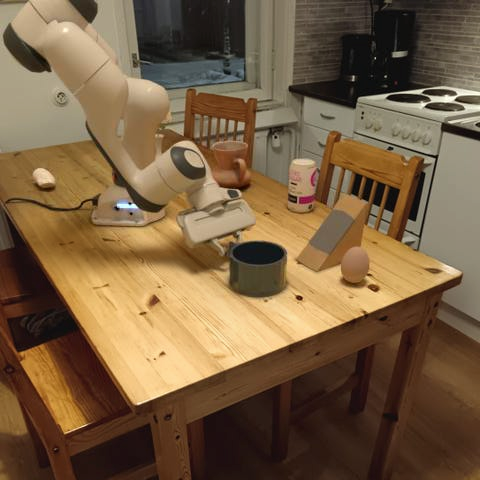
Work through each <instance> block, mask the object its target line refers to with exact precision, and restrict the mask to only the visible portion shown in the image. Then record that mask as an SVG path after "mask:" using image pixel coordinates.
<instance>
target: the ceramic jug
mask: <svg viewBox="0 0 480 480" xmlns="http://www.w3.org/2000/svg"><path fill="white" fill-rule="evenodd" d="M248 149H249V145H248V143H247V142H244V141H239V140H238V141H237V140H225V141H217V142H214V143H213V145H212V151H213V155H214V158H215V161H216V163H217V165H218V166H217V167H216V168H215V169H213V170H212V171H211V172H212V176H213V178H214V180H215V181H216V182H217V183H218V185H219V187H220V188H226V189H239V188H243V187H245V186H247V185H248V184H249V183H250V182H251V179H252V175H251V173H250V171H249V170H248V169H247V164H246V161H245V160H246V157H247V154H248Z"/></svg>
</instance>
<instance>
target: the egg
mask: <svg viewBox="0 0 480 480" xmlns="http://www.w3.org/2000/svg"><path fill="white" fill-rule="evenodd" d="M369 270H370V258H369V255H368V253H367V251H366V250H365V249H364V248H362V246H361V247H357V246H356V247H352V248H351V249H349V250H348V251H347V252H346V253H345V255H344V257H343V259H342V262H341V263H340V272H341V275H342V277H343V278H344V279H345V280H346V281H347V282H348V283H352V284H356V283H360V282H362V281H363V280H364V279H365V278H366V277H367V276H368V275H369V274H368V273H369Z"/></svg>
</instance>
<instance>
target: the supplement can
mask: <svg viewBox="0 0 480 480" xmlns="http://www.w3.org/2000/svg"><path fill="white" fill-rule="evenodd" d="M317 169H318V168H317V165H316V161H315V160H313V159H310V158H296V159H292V161H291V163H290V164H289V172H288V188H287V190H288V191H287V208H288V209H289V211H291V212H293V213H298V214H304V213H305V214H307V213H309V212H311V211H312V210H313V209H314V206H315V205H314V204H315V203H314V202H315V194H316V181H317V171H318V170H317Z"/></svg>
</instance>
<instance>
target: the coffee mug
mask: <svg viewBox="0 0 480 480" xmlns="http://www.w3.org/2000/svg"><path fill="white" fill-rule="evenodd" d="M227 251H228V263H229V264H228V265H229V285H230V287H231V289H232V290H234V292H236V293H239V294H240V295H243V296H246V297H251V298H252V297H253V298H264V297H270V296H274V295H277V294H279V293H280V292H282V291H283V290H284V289H285V287H286V282H287V281H286V280H287V265H288V251H287V249H286V248H285V247H284V246H283V245H281V244H279V243H276V242H272V241H269V240H247V241H242V243H239V244H236V242H234V241H232V240H231V241H229V242H228V250H227Z"/></svg>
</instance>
